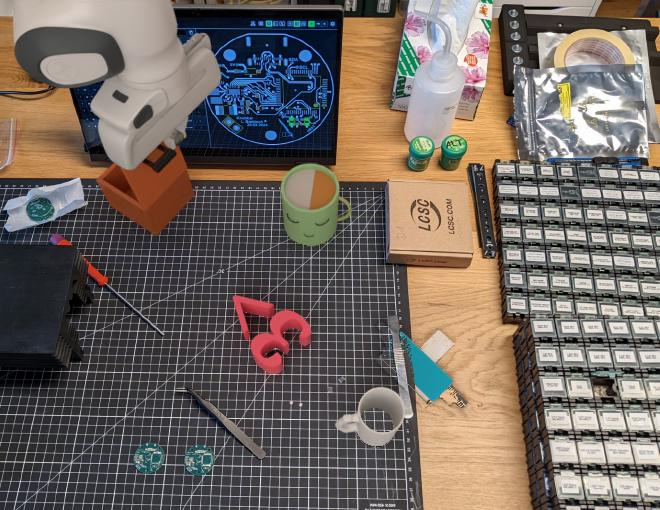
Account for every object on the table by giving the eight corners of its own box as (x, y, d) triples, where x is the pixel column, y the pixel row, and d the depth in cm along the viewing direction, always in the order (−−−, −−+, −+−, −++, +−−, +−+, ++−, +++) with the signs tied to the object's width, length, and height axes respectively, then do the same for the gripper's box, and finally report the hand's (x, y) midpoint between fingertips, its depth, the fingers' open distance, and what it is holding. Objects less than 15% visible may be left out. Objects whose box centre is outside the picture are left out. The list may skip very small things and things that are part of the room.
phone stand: (490, 379, 104) (493, 376, 103) (443, 428, 100) (445, 426, 99) (403, 299, 111) (404, 295, 109) (356, 343, 107) (356, 339, 105)
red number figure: (216, 326, 108) (211, 315, 103) (258, 287, 111) (256, 275, 107) (273, 381, 103) (271, 372, 99) (315, 339, 107) (315, 328, 102)
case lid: (117, 163, 97) (139, 176, 95) (164, 118, 101) (186, 129, 100) (142, 209, 107) (162, 220, 106) (184, 165, 112) (203, 176, 110)
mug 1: (279, 244, 115) (276, 210, 105) (288, 197, 120) (285, 160, 109) (347, 252, 115) (350, 219, 104) (352, 204, 120) (356, 168, 109)
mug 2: (391, 404, 102) (399, 383, 91) (399, 445, 99) (409, 429, 88) (330, 413, 101) (332, 394, 90) (337, 455, 98) (340, 441, 87)
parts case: (110, 206, 118) (95, 180, 111) (149, 167, 123) (138, 139, 115) (156, 236, 116) (145, 211, 108) (194, 195, 120) (186, 168, 112)
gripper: (187, 16, 84) (204, 88, 96) (79, 113, 76) (113, 177, 88) (224, 35, 83) (236, 105, 95) (118, 136, 74) (146, 199, 87)
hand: (176, 141), depth 91 cm, fingers closed
